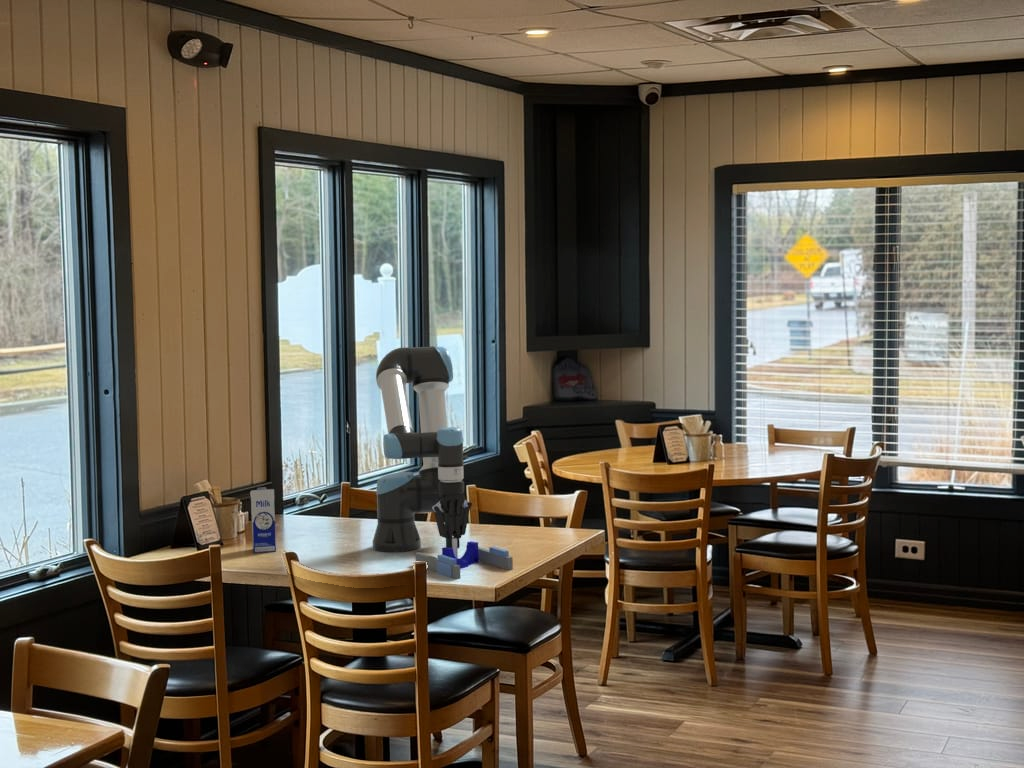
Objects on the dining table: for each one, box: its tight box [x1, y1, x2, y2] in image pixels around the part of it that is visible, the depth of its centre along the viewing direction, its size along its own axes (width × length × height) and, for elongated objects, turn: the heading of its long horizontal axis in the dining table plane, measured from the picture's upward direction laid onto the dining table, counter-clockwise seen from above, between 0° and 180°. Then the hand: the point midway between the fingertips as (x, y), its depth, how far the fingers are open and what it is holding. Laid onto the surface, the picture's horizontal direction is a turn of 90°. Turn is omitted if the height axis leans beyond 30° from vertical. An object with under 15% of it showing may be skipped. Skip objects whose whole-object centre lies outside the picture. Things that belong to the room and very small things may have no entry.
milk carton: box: [249, 486, 277, 554], centre depth 377 cm, size 7×7×20 cm
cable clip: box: [441, 540, 480, 570], centre depth 349 cm, size 12×4×6 cm, turn 138°
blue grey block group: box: [415, 544, 514, 580], centre depth 347 cm, size 23×19×5 cm
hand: (453, 559), depth 352 cm, fingers closed
